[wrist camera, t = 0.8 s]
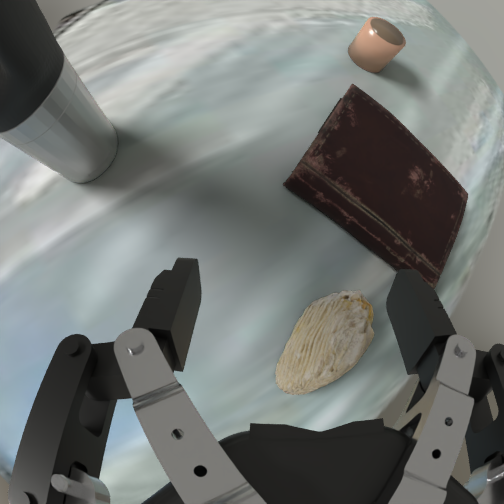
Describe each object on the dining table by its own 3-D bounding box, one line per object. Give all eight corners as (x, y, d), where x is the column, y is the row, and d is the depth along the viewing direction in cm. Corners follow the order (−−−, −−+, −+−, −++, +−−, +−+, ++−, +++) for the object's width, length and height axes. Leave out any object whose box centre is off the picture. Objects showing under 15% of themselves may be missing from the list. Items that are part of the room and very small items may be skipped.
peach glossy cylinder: (340, 50, 37) (360, 21, 29) (360, 39, 38) (380, 12, 30) (371, 78, 38) (395, 52, 30) (389, 64, 38) (412, 41, 30)
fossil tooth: (263, 373, 35) (320, 272, 35) (303, 389, 35) (359, 293, 35) (272, 422, 24) (356, 284, 24) (325, 438, 24) (406, 312, 24)
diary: (413, 290, 38) (434, 293, 33) (279, 188, 36) (288, 178, 31) (451, 194, 40) (471, 189, 35) (341, 96, 37) (354, 79, 32)
